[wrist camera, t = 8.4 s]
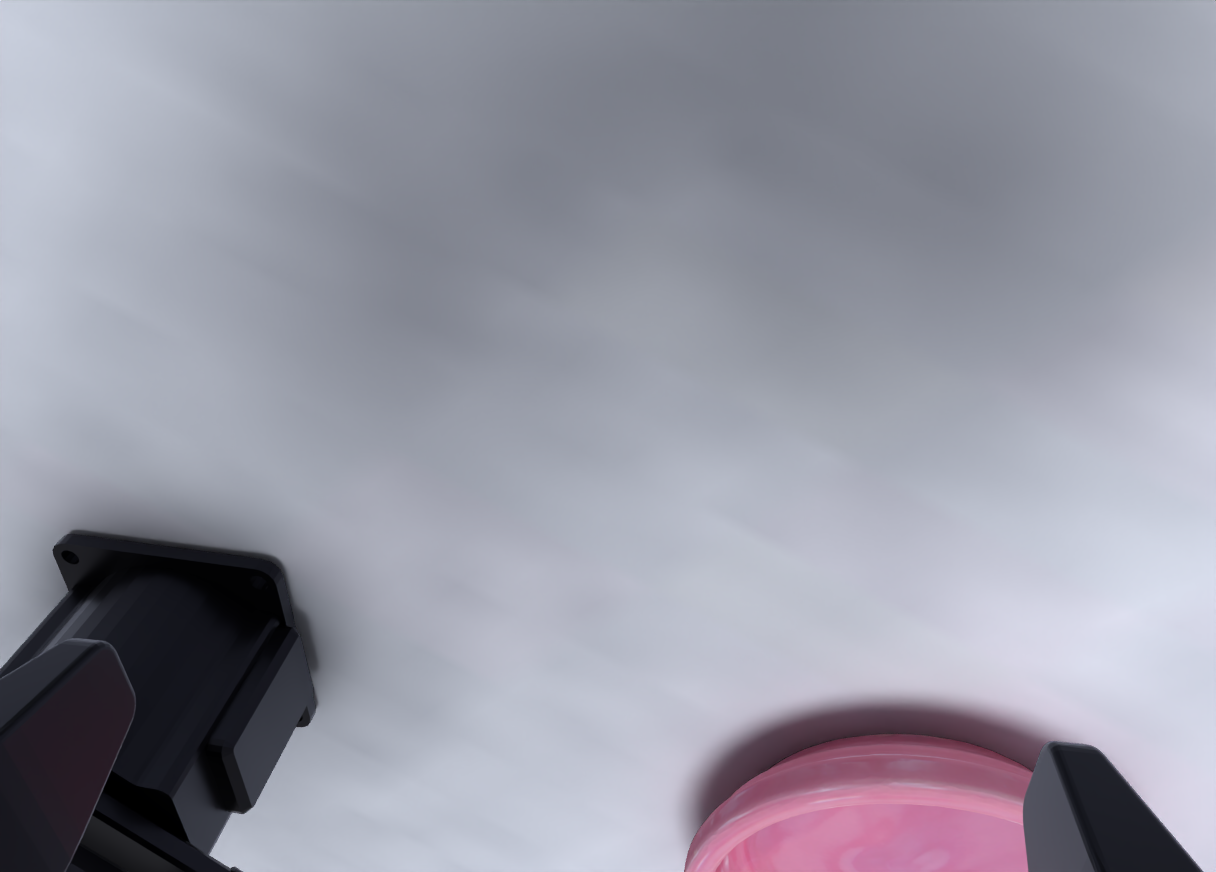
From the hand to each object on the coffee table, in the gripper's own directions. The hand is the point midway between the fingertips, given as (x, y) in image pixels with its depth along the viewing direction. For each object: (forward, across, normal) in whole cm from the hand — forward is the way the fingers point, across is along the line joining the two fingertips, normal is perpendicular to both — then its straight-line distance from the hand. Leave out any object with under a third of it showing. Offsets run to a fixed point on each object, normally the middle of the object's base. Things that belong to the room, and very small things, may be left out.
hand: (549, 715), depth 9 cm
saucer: (+12, -7, +19) cm, 23 cm away
